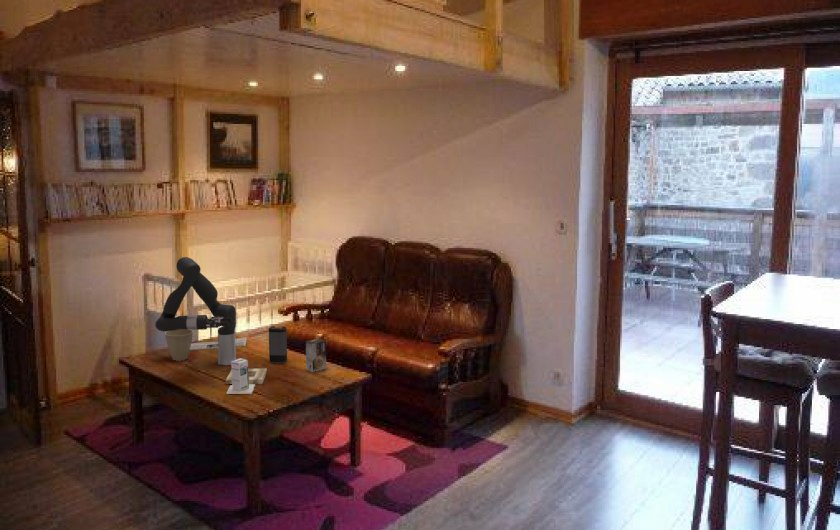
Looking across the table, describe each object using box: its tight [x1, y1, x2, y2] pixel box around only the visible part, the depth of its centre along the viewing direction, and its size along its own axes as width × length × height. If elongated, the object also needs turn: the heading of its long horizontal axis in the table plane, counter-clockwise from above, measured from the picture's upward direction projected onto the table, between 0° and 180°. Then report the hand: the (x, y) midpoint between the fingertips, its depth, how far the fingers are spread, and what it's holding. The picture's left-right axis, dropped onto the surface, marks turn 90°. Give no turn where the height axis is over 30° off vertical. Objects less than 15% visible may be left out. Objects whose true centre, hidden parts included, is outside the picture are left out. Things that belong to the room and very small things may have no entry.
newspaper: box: [189, 336, 247, 352], centre depth 405 cm, size 35×12×4 cm, turn 109°
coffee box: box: [305, 338, 327, 373], centre depth 361 cm, size 9×6×16 cm
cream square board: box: [225, 367, 268, 385], centre depth 346 cm, size 18×18×2 cm
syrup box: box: [230, 358, 250, 391], centre depth 327 cm, size 6×6×14 cm
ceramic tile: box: [225, 384, 256, 395], centre depth 328 cm, size 12×12×1 cm
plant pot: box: [164, 329, 194, 362], centre depth 377 cm, size 15×15×16 cm
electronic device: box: [268, 325, 288, 364], centre depth 373 cm, size 9×6×20 cm, turn 84°
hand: (229, 321), depth 342 cm, fingers open, 8 cm apart
